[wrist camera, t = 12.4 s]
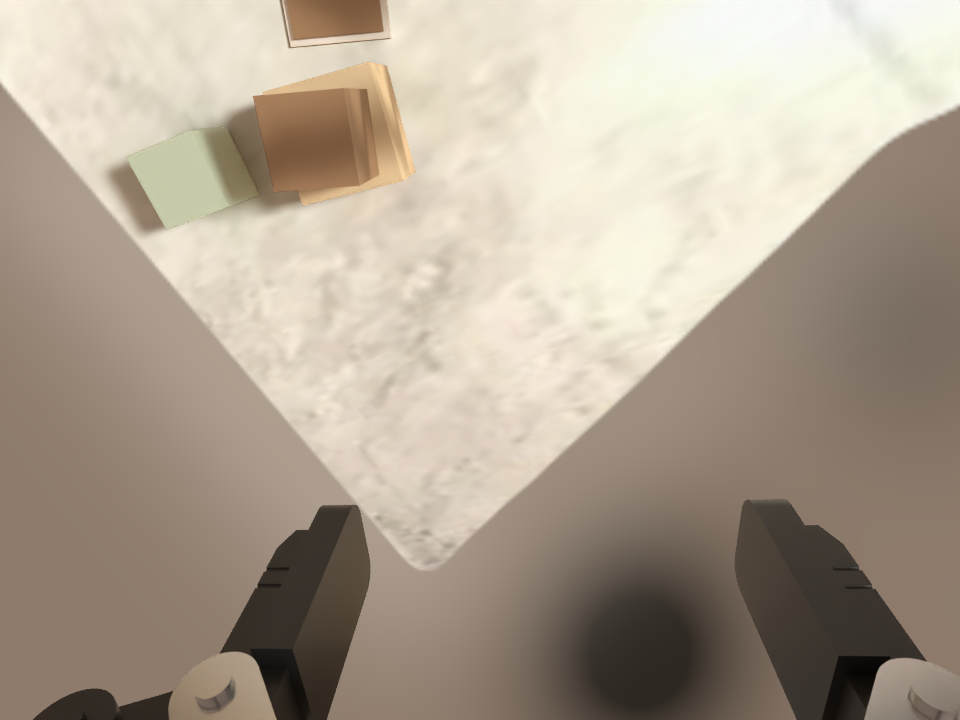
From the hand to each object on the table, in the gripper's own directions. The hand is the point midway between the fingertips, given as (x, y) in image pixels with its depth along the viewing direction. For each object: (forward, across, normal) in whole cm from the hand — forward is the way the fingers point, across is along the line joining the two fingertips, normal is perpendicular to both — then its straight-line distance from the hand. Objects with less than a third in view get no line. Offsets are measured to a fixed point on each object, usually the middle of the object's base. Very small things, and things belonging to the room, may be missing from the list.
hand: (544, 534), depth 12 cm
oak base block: (+33, +12, -7) cm, 36 cm away
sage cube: (+33, +23, -5) cm, 41 cm away
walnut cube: (+28, +12, -7) cm, 32 cm away
